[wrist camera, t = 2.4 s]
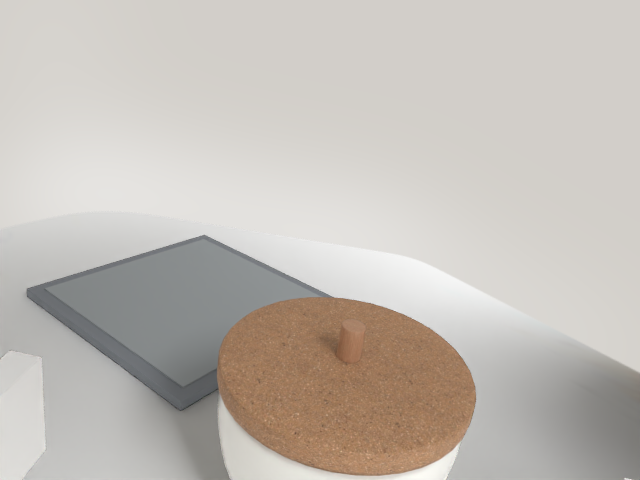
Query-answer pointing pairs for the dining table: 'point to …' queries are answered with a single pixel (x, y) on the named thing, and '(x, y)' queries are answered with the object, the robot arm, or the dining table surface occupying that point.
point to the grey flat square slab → (168, 310)
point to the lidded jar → (339, 394)
